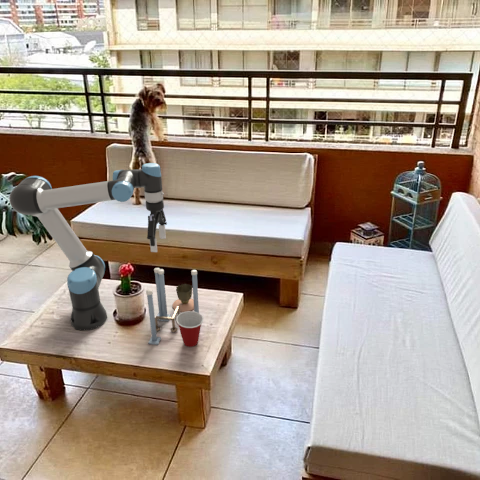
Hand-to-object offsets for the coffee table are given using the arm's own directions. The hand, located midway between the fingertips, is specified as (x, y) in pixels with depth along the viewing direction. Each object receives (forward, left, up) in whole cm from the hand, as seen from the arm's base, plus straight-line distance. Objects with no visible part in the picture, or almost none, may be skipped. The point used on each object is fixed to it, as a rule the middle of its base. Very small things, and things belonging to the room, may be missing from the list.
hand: (158, 244), depth 198 cm
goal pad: (+11, -4, -29) cm, 31 cm away
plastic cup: (+20, -30, -29) cm, 46 cm away
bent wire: (+7, -19, -29) cm, 35 cm away
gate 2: (+11, -14, -29) cm, 34 cm away
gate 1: (+5, -23, -29) cm, 37 cm away
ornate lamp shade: (+11, -2, -28) cm, 30 cm away
